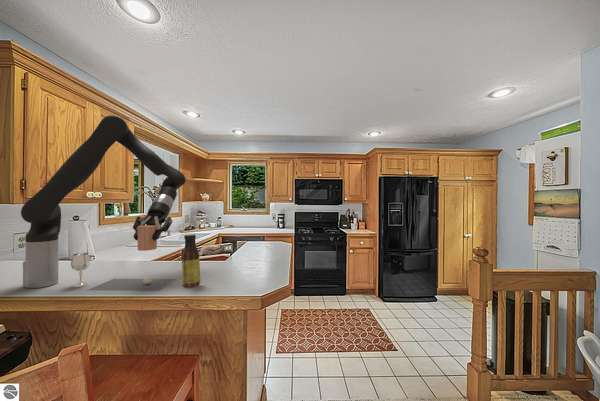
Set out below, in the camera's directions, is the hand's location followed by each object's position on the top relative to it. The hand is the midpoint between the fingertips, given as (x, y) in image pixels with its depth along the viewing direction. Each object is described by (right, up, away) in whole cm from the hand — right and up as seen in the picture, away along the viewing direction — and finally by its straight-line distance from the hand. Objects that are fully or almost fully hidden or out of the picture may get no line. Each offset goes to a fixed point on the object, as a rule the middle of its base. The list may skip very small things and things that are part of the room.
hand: (144, 239), depth 102 cm
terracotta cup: (0, -4, +2) cm, 4 cm away
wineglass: (-26, -18, +2) cm, 32 cm away
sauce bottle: (+17, -19, +2) cm, 25 cm away
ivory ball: (0, -18, +2) cm, 18 cm away
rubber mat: (-5, -18, +2) cm, 19 cm away
